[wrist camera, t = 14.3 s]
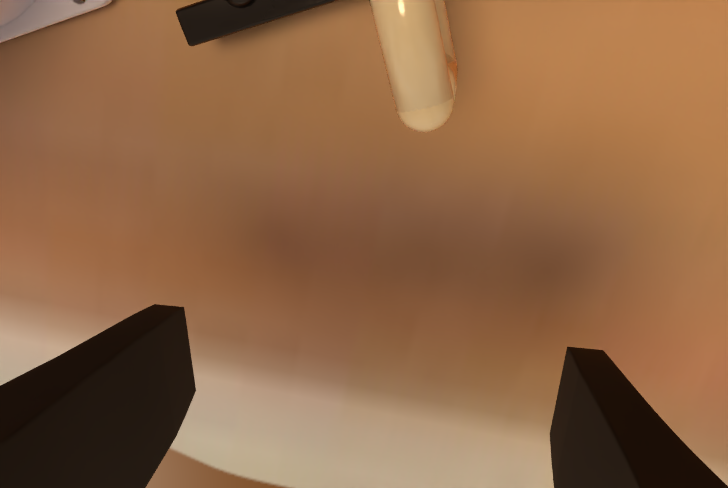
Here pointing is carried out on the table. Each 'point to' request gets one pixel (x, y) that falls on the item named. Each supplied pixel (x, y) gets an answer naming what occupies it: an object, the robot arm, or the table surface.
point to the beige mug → (418, 60)
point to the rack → (235, 16)
